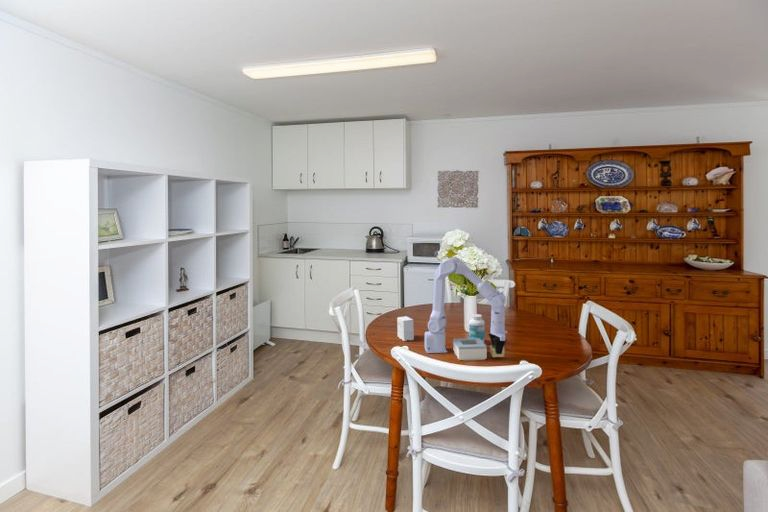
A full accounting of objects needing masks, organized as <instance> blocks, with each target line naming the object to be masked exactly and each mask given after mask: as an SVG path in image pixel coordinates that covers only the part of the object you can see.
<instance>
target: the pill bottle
mask: <svg viewBox="0 0 768 512" xmlns="http://www.w3.org/2000/svg"><path fill="white" fill-rule="evenodd" d="M468 321H469V322H468V338H480V339H481V340H482V342H483V343H484V344H485V328H486V327H485V325H486V322H485V320H484V319H483V315H482V314H481V313H474V314H472V315H471V319H469V320H468Z"/></svg>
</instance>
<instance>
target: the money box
mask: <svg viewBox="0 0 768 512" xmlns="http://www.w3.org/2000/svg"><path fill="white" fill-rule="evenodd" d="M452 341H453V343H452V344H453V345H452V347H453V348H452V350H453V351H454V352H453V354H454V355H455V356H457V357H456V358H457V360H458V359H459V360H463V361H486V360H485V359H487V352H488V351H487V349H488V347H487V344H486V343H485V342H484V343H483V342H482V340H481V339H480V338H469V337H465V338H459V337H458V338H453V339H452ZM459 360H458V361H459Z"/></svg>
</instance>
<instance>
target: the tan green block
mask: <svg viewBox="0 0 768 512" xmlns="http://www.w3.org/2000/svg"><path fill="white" fill-rule="evenodd" d="M505 349H506V348H505V346H504V347H503V350H502V354H496V349H495V345H492V344H490V346H489V353H490V355H491V357H492V358H502V357H505Z"/></svg>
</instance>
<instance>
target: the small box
mask: <svg viewBox="0 0 768 512" xmlns="http://www.w3.org/2000/svg"><path fill="white" fill-rule="evenodd" d="M396 320H397V321H396V322H397V324H396V325H397V326H396V327H397V338H398V337H399V339H400V340H401V339H402V340H401V341H403V342H408V341H407V340H409V341H414V339H415V335H414V331H415V330H414V326H415V324H414V319H413V318H411V317H409V316H407V315H405V316H399V317H397V318H396Z"/></svg>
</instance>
